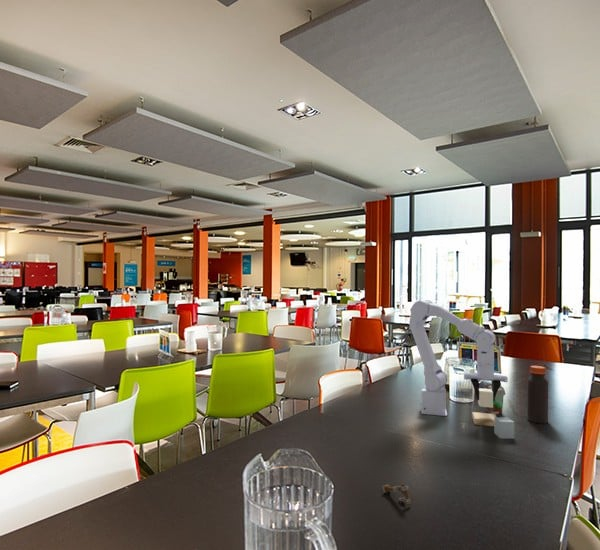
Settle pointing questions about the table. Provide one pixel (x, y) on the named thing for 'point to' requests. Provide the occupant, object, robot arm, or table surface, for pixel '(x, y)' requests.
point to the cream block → (485, 398)
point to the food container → (496, 401)
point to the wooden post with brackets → (398, 488)
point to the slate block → (504, 427)
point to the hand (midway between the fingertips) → (485, 400)
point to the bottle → (537, 396)
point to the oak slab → (483, 418)
